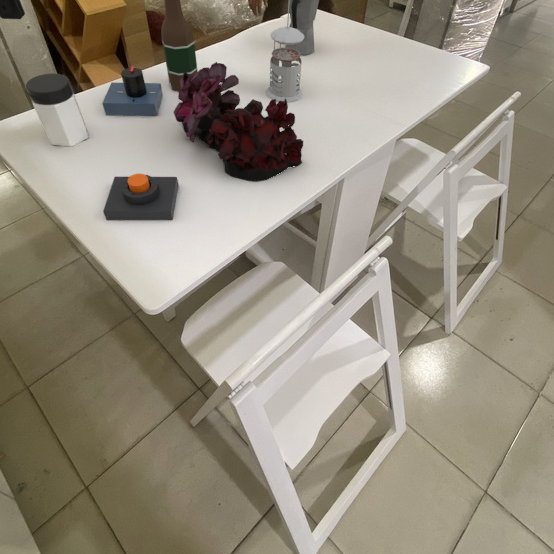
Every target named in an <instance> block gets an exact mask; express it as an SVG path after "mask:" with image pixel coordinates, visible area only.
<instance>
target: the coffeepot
mask: <svg viewBox="0 0 554 554" xmlns="http://www.w3.org/2000/svg"><path fill="white" fill-rule="evenodd" d="M319 3H320V0H290V3H289V18H290V19H289V20H290V23H289V25H288V27H291V28H295V29H297V30H299V31H300V32H301V33H302V34H304V39H303V41H302V42H300V43H298V44H293V45H287V48H291V49H295V50H297V51H299V52H300V54H301V56H303V57H304V56H309V55H312V54H313V53H314V52H315V33H314V21H315V20H316V16H317V11H318V7H319ZM301 56H300V57H301Z"/></svg>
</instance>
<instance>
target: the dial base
mask: <svg viewBox="0 0 554 554" xmlns="http://www.w3.org/2000/svg"><path fill="white" fill-rule="evenodd" d="M145 86H146V91H147V93H146V94H145V95H144V96H142V97H137V98H133V97H129V96H127V94H126V91H125V87H124V83H123V82H111V83H110V85H109V87H108V90H107V92H106V94H105V95H104V99H103V101H102V103H101V104H102V107H103V110H104V114H105V116H137V117H138V116H141V117H143V116H145V117H147V116H148V117H149V116H150V117H158V114H159V110H160V107H161V102H162V100H163V96H164V95H163V89H162V83H160V82H158V83H157V82H145Z"/></svg>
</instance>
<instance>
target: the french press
mask: <svg viewBox="0 0 554 554" xmlns="http://www.w3.org/2000/svg"><path fill="white" fill-rule="evenodd" d="M289 3H290V0H288V4H287V22H286V23H287V24H286V26H281V27H278V28H275V30H272V31H271V32H270V34H269V37H270V39H271V40H272V41H273V50H272V52H271V57H270V60H269V86H268V87H267V89H266V90H265V95H266V96H267V97H268V98H269V99H270V100H274V99H276V102H279V101H284V99H286V100H287V103H292V102H296V101H299V100H300V99H301V98H302V97H303V96H304V93H303V90H302V89H301V87H300V86H301V75H302V62H303V61H302V59H301V54H300V52H299V51H297V50H295V49H291V48H287V45H293V44H298V43H300V42H302V41H303V39H304V34H302V33H301V32H300V31H299V30H297V29H295V28H291V27H289V21H290V19H289V18H290V7H289ZM276 43H278V44H279V47H277V48H276ZM282 45H285V47H282ZM295 61H296V62H298V63H296V62H295ZM280 62H281V66H280ZM279 77H280V78H279Z"/></svg>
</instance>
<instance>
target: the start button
mask: <svg viewBox="0 0 554 554" xmlns="http://www.w3.org/2000/svg"><path fill="white" fill-rule="evenodd" d="M146 175H147V174H144V173H135V174H132V175H129V176H128V177H129V178H128V185H129V188H130V190H131V191H132V192H133V193H142V192H145V191H147V190H148V189H149V188H150V184H149V181H148V177H147V176H146Z"/></svg>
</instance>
